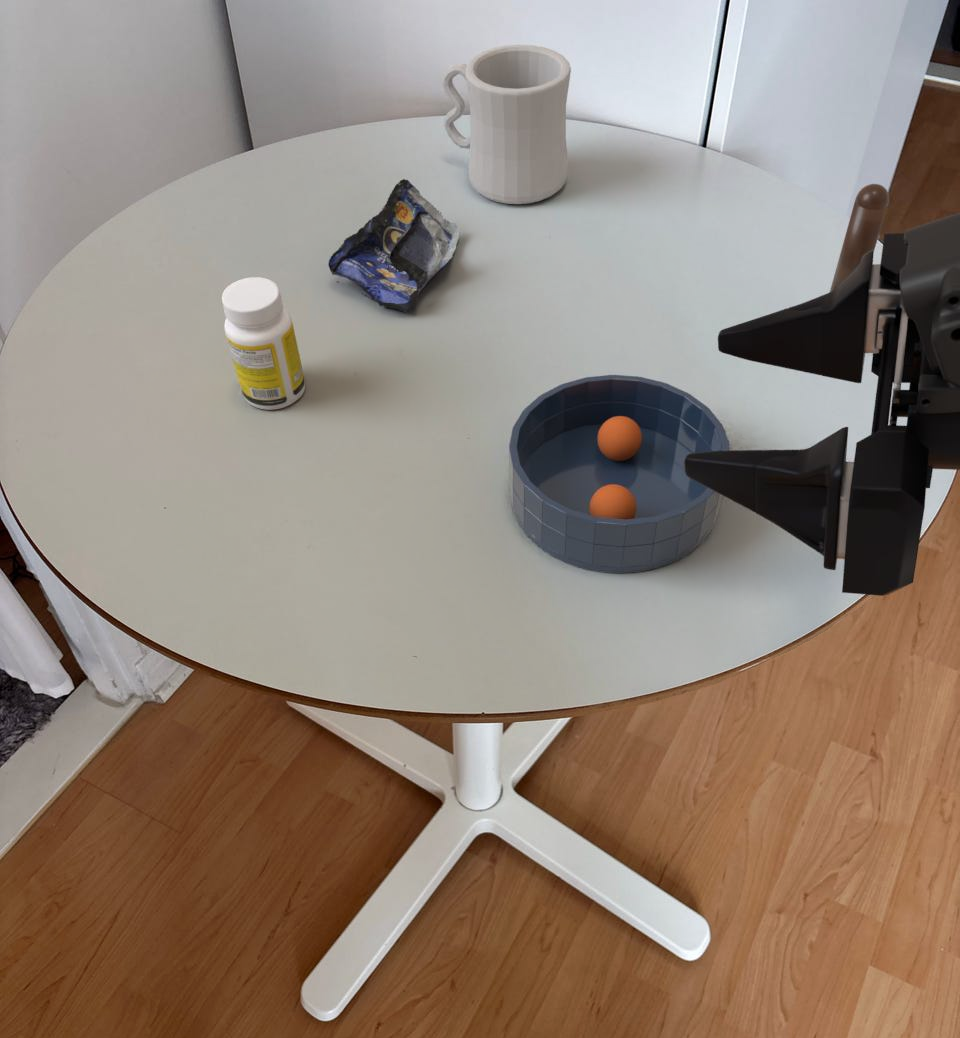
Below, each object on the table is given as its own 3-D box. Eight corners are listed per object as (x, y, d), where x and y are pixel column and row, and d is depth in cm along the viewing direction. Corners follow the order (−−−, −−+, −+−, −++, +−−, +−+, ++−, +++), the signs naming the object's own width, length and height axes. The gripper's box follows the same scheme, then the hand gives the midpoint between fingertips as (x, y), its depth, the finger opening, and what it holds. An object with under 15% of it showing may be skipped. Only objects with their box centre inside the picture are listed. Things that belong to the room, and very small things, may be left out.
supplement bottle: (284, 362, 79) (262, 265, 72) (318, 392, 76) (299, 294, 70) (230, 389, 77) (203, 291, 70) (264, 420, 75) (239, 323, 68)
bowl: (719, 433, 72) (730, 382, 69) (718, 583, 64) (729, 534, 60) (523, 418, 74) (524, 368, 70) (497, 562, 66) (495, 513, 62)
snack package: (504, 288, 84) (443, 216, 90) (492, 221, 78) (428, 150, 84) (375, 352, 82) (322, 275, 89) (353, 288, 77) (298, 211, 83)
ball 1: (640, 442, 71) (645, 408, 69) (638, 471, 69) (642, 438, 67) (597, 438, 71) (600, 405, 69) (594, 468, 70) (597, 434, 67)
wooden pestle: (852, 323, 79) (898, 174, 70) (855, 349, 77) (903, 199, 68) (810, 321, 80) (850, 172, 70) (812, 346, 78) (853, 197, 68)
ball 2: (635, 509, 67) (639, 476, 65) (632, 543, 65) (637, 510, 63) (589, 505, 68) (592, 472, 65) (586, 539, 66) (588, 506, 63)
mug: (585, 171, 94) (591, 56, 86) (536, 218, 90) (537, 102, 82) (472, 139, 98) (468, 27, 90) (419, 182, 94) (410, 69, 86)
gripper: (1105, 109, 43) (727, 136, 48) (1132, 397, 32) (647, 389, 38) (1051, 333, 51) (734, 335, 57) (1058, 619, 41) (670, 586, 46)
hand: (702, 399), depth 49 cm, fingers open, 9 cm apart
